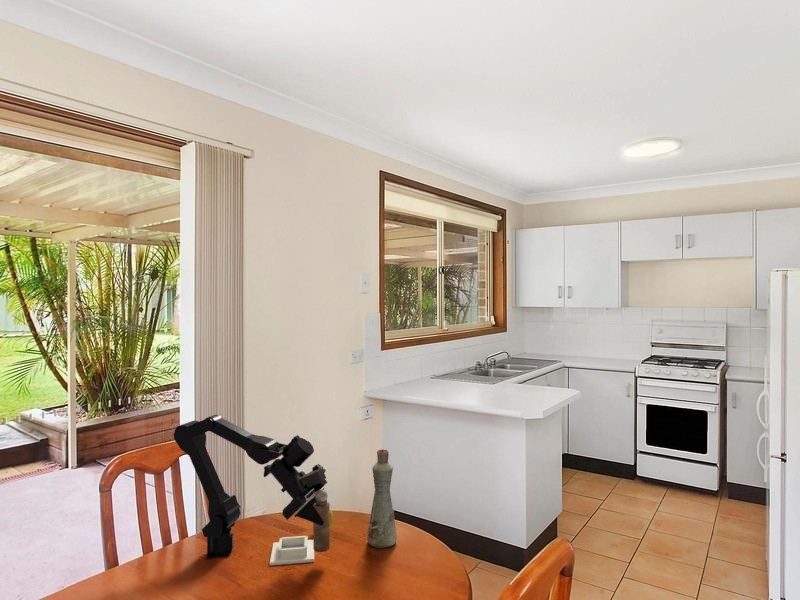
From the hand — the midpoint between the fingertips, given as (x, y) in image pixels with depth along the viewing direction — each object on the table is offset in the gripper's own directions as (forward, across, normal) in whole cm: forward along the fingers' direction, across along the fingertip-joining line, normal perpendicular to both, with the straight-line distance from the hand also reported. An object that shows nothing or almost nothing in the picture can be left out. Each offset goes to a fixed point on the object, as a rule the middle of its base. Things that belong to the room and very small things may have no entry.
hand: (326, 520), depth 142 cm
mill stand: (0, +4, +17) cm, 18 cm away
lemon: (+3, +20, +15) cm, 25 cm away
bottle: (+17, +16, +1) cm, 23 cm away
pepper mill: (+4, 0, +6) cm, 8 cm away
